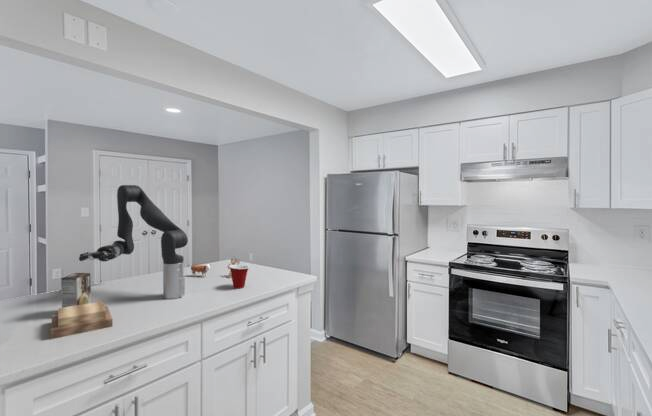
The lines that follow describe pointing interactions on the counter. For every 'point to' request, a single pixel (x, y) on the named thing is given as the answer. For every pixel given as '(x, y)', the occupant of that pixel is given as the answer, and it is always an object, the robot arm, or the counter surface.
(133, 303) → the counter surface
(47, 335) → the counter surface
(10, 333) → the counter surface
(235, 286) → the plastic cup
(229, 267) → the tan wooden handled piece
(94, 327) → the plinth
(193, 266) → the bull figurine
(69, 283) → the coffee box
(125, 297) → the counter surface
